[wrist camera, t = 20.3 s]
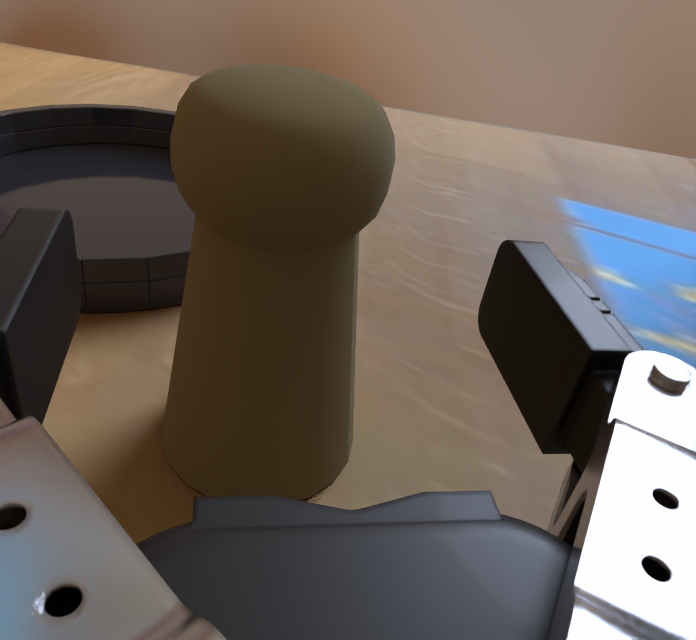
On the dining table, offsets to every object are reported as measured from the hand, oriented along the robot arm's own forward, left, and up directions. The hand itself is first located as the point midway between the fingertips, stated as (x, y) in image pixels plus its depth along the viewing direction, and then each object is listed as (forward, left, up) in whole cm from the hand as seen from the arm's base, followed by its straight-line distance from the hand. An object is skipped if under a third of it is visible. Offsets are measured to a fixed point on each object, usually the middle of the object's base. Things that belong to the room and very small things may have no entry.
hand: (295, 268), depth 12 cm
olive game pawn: (-3, -2, -9) cm, 10 cm away
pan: (-11, -16, -9) cm, 22 cm away
